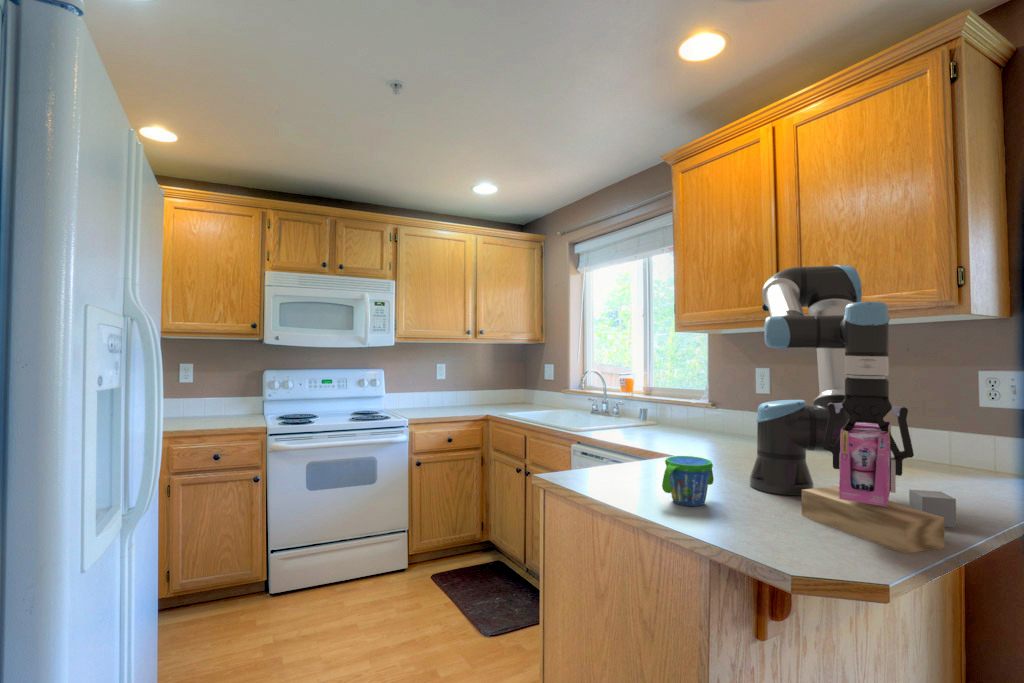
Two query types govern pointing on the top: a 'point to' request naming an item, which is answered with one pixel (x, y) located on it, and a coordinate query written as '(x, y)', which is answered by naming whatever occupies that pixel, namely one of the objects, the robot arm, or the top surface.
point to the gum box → (865, 464)
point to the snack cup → (687, 479)
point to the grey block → (934, 504)
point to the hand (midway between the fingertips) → (866, 487)
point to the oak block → (875, 520)
